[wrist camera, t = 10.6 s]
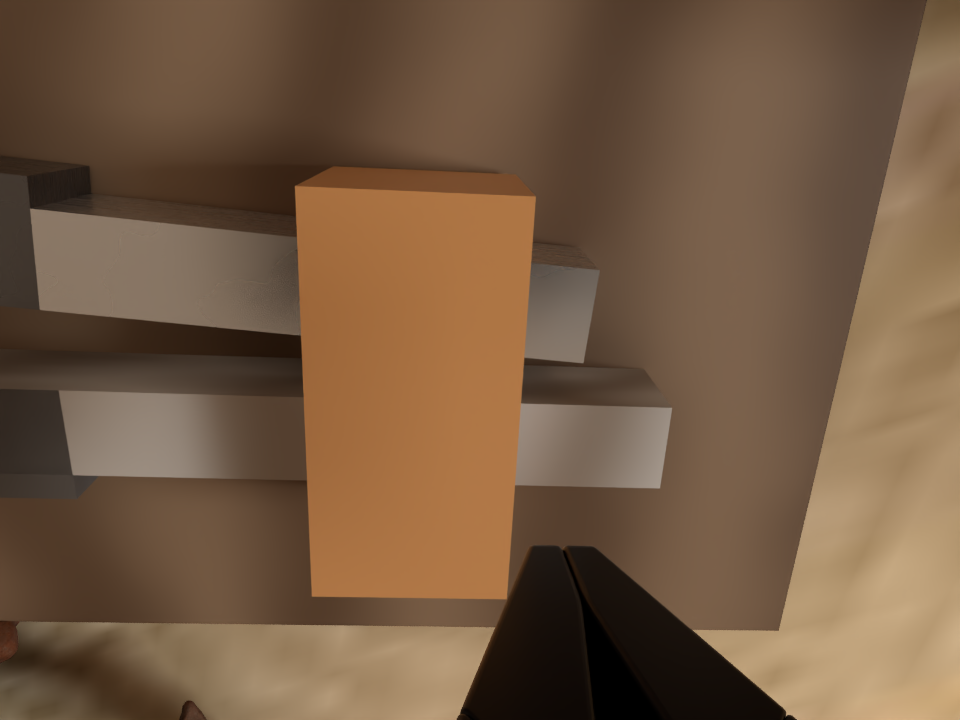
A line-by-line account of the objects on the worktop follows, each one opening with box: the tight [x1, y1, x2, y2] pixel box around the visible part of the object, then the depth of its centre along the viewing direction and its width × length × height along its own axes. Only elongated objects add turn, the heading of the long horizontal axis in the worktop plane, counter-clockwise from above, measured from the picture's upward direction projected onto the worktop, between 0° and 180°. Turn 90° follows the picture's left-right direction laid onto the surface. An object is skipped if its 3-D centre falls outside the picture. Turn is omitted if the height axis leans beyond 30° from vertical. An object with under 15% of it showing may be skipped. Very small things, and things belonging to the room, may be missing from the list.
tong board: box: [0, 0, 927, 631], centre depth 16 cm, size 26×22×3 cm
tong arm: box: [0, 156, 600, 363], centre depth 15 cm, size 14×3×2 cm, turn 83°
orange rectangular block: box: [295, 166, 536, 599], centre depth 15 cm, size 4×8×4 cm, turn 177°
